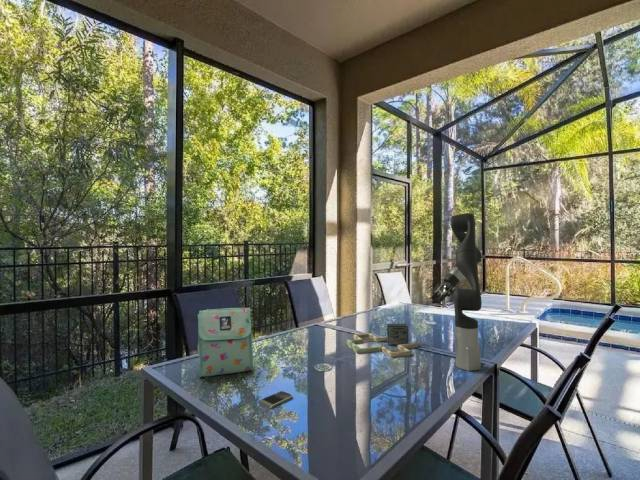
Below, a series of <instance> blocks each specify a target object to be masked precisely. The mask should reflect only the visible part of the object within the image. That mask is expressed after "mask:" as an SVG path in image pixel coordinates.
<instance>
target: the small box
mask: <svg viewBox="0 0 640 480" xmlns="http://www.w3.org/2000/svg"><path fill="white" fill-rule="evenodd" d="M386 334H387V335H386V337H387V341H386V343H387V345H388V347H397V345H400V344H409V325H408V324H407V323H386Z"/></svg>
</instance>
